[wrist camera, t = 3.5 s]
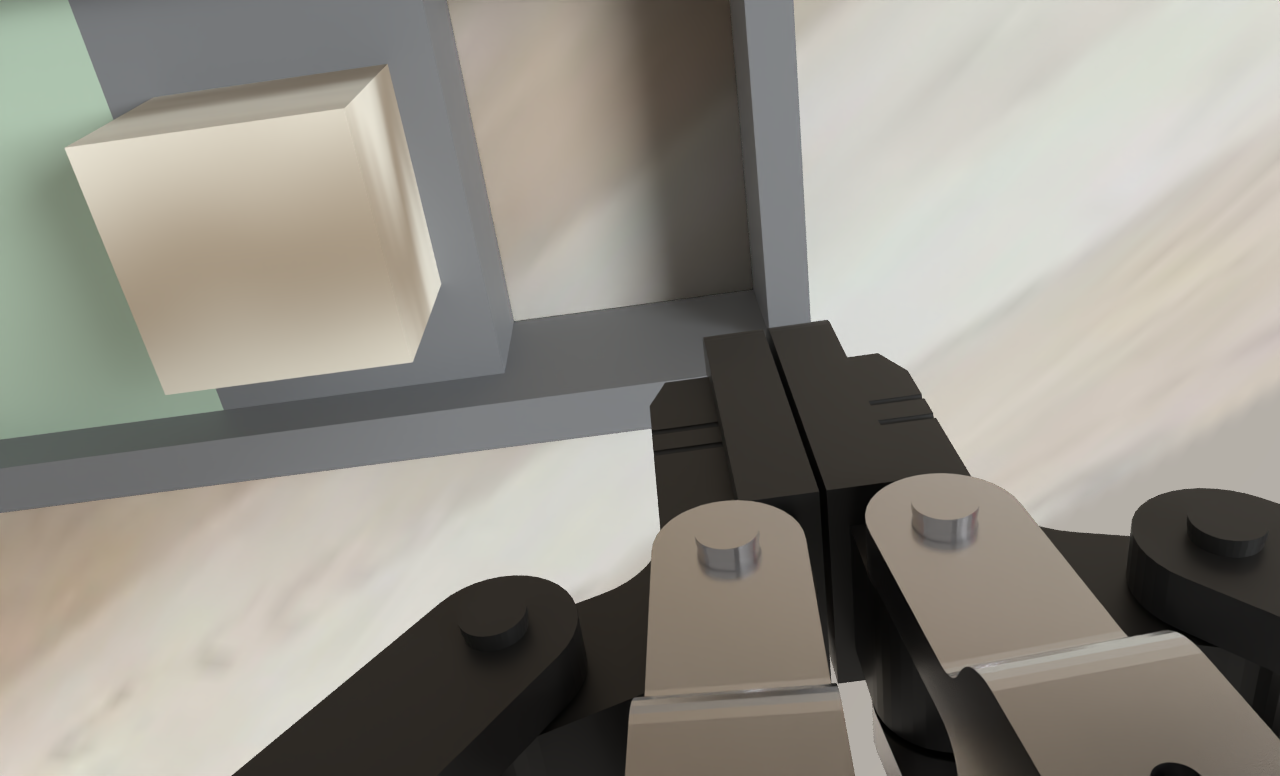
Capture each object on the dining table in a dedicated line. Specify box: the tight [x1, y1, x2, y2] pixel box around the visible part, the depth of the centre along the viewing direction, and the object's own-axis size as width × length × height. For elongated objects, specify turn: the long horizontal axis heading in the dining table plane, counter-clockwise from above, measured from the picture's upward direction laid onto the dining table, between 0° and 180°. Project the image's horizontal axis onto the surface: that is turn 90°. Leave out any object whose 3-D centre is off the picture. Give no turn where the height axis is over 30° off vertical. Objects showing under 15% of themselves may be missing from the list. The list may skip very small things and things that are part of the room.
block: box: [65, 64, 441, 395], centre depth 20 cm, size 5×5×4 cm
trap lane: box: [0, 0, 811, 513], centre depth 23 cm, size 12×30×4 cm, turn 97°
